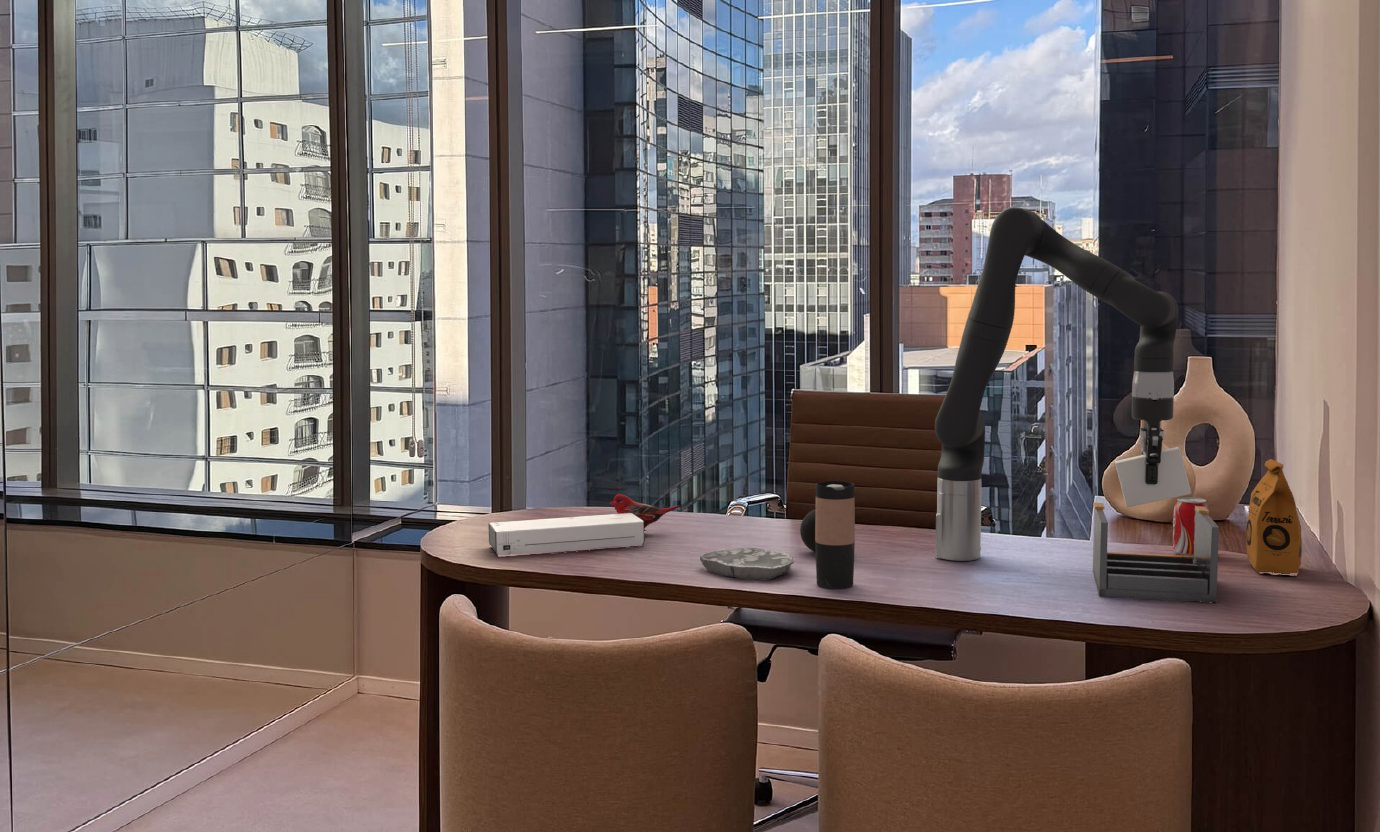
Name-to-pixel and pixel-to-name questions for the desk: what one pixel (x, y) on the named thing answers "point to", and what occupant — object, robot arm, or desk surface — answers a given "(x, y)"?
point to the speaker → (809, 530)
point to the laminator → (566, 533)
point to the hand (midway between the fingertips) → (1150, 482)
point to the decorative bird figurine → (639, 509)
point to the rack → (1158, 566)
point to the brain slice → (748, 563)
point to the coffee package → (1273, 525)
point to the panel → (1169, 478)
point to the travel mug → (835, 534)
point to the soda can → (1185, 524)
